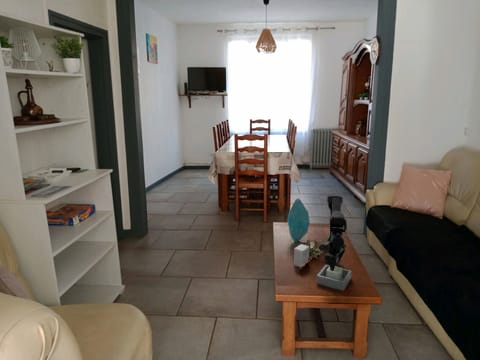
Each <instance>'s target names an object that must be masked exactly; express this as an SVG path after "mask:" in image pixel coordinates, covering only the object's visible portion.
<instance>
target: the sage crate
mask: <svg viewBox="0 0 480 360" xmlns="http://www.w3.org/2000/svg"><path fill="white" fill-rule="evenodd" d="M342 269H343V267H339V266H337V265H336V266H335V268H334V270H333V271H331V269H330V267H329V268H328V269H327V273H326V277H328V278H332V279H335V280H339V281H340V280H341V279H342Z"/></svg>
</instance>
